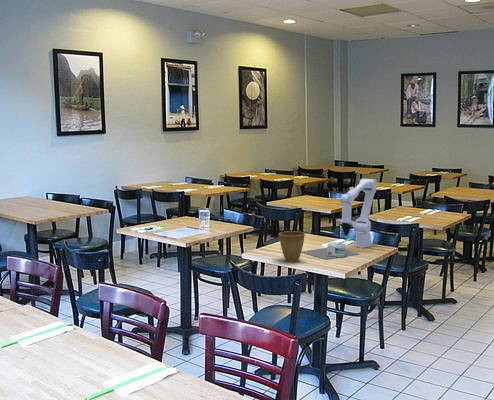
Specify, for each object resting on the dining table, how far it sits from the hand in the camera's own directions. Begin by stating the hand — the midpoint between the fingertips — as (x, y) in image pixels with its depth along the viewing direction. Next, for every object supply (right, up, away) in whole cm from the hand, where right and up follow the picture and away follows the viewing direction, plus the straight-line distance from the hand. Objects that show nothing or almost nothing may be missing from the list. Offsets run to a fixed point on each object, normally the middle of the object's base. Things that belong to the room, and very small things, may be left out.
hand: (346, 235), depth 358 cm
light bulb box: (-7, -7, -7) cm, 12 cm away
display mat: (-11, -11, -6) cm, 17 cm away
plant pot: (-36, -13, -25) cm, 46 cm away
